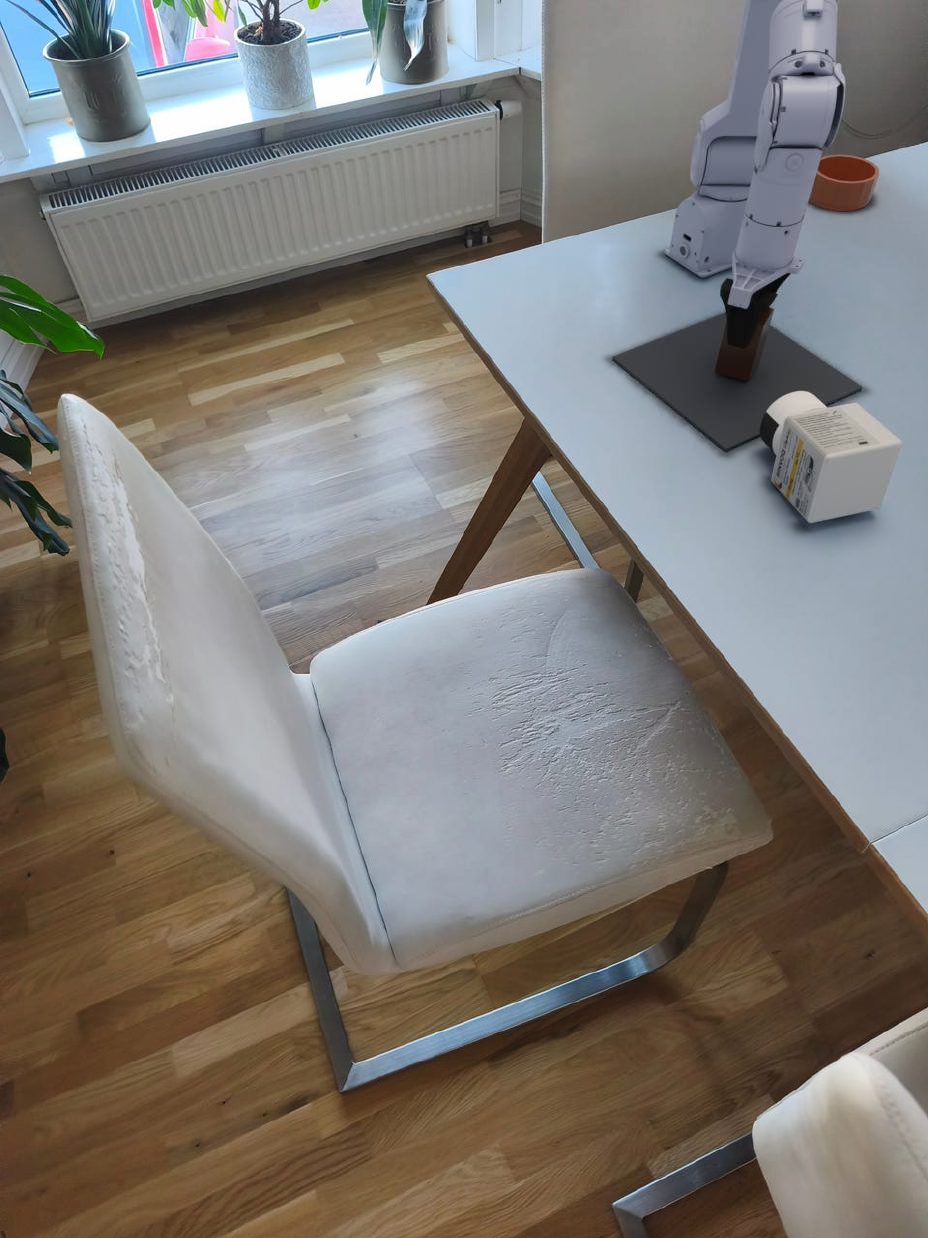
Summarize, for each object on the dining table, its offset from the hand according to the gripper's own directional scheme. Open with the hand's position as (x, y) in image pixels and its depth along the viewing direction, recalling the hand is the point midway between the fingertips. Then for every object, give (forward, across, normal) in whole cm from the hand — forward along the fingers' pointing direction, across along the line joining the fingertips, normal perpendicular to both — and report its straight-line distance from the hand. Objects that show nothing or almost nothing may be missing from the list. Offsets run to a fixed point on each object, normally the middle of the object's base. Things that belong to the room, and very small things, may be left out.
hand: (743, 334), depth 95 cm
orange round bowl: (+5, +49, +1) cm, 49 cm away
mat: (+5, 0, 0) cm, 5 cm away
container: (0, -19, -17) cm, 25 cm away
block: (+4, 0, 0) cm, 4 cm away
